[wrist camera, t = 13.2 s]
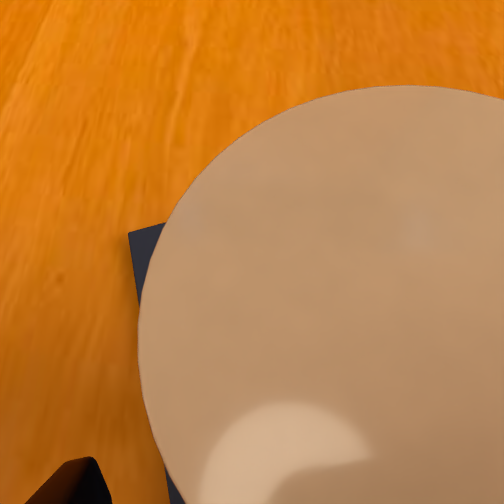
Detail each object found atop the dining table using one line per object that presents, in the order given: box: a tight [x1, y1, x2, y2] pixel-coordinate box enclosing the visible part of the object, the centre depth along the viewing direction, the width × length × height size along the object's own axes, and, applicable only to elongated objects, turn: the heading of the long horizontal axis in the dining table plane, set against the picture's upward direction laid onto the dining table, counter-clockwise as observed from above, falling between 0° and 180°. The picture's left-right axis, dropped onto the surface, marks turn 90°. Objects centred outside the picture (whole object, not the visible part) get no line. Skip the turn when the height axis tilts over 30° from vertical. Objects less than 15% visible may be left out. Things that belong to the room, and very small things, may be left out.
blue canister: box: [138, 85, 504, 504], centre depth 10 cm, size 5×5×12 cm
